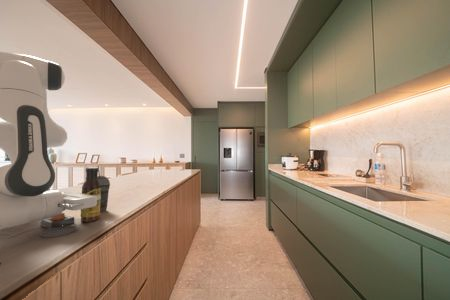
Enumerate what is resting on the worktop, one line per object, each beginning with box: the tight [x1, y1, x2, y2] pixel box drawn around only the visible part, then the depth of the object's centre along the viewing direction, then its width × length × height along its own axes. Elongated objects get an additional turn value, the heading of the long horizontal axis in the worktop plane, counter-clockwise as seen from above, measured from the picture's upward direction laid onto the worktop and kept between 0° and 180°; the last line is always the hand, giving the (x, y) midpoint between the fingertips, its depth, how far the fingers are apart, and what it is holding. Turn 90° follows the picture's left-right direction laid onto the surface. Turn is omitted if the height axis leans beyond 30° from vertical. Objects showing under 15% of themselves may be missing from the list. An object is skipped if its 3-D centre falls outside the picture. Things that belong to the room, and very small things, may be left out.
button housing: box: [40, 214, 75, 229], centre depth 74 cm, size 7×7×2 cm
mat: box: [39, 224, 77, 239], centre depth 67 cm, size 9×9×1 cm
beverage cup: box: [97, 165, 111, 214], centre depth 90 cm, size 7×7×20 cm
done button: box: [51, 212, 66, 221], centre depth 74 cm, size 4×4×2 cm
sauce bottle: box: [80, 167, 101, 223], centre depth 79 cm, size 6×6×20 cm
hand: (93, 195), depth 80 cm, fingers closed on sauce bottle, 6 cm apart
